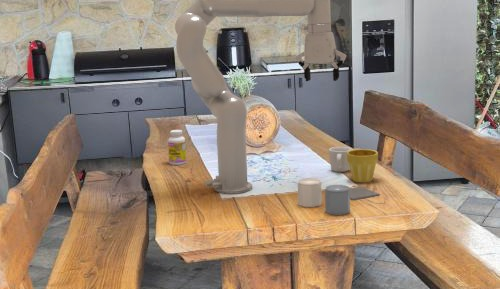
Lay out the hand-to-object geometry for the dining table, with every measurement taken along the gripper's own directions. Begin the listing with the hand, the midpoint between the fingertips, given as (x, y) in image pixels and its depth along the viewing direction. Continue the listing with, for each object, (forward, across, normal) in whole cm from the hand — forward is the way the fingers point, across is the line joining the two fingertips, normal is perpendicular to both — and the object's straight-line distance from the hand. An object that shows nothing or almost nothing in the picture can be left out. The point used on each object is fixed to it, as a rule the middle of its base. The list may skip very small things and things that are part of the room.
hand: (321, 80), depth 243 cm
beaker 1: (+34, +4, -30) cm, 45 cm away
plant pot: (+35, +12, +1) cm, 37 cm away
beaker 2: (+34, +14, -35) cm, 50 cm away
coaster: (+34, +15, -15) cm, 40 cm away
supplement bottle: (+33, -62, +6) cm, 70 cm away
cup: (+35, +2, +11) cm, 36 cm away
